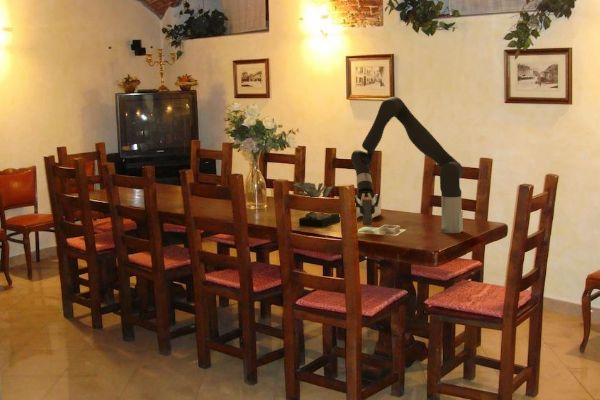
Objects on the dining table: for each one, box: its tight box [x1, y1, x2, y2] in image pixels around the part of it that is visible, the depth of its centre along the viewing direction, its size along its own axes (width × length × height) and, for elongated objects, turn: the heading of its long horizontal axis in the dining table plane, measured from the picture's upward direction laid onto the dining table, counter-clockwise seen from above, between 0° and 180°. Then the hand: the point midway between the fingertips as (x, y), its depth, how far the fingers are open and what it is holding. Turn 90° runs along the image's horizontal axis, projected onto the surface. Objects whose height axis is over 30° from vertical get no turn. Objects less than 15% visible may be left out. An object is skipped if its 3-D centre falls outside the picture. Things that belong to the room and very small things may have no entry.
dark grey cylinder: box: [362, 197, 373, 226], centre depth 357 cm, size 4×4×13 cm
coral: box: [293, 180, 341, 228], centre depth 385 cm, size 25×20×22 cm
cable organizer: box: [356, 193, 382, 219], centre depth 398 cm, size 15×11×12 cm
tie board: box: [357, 224, 407, 237], centre depth 355 cm, size 22×14×4 cm, turn 63°
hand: (367, 213), depth 355 cm, fingers closed on dark grey cylinder, 4 cm apart
